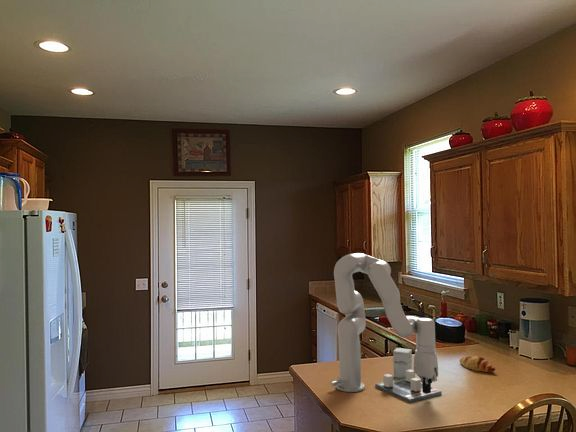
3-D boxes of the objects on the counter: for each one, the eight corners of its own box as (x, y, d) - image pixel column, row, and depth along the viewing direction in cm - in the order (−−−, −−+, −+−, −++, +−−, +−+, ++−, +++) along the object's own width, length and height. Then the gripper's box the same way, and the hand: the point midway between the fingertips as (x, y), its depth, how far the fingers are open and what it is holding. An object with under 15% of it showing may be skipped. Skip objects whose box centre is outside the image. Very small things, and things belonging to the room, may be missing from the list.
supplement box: (393, 377, 226) (392, 350, 226) (397, 373, 232) (396, 347, 233) (408, 379, 222) (408, 352, 223) (412, 375, 229) (411, 348, 229)
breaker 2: (410, 382, 213) (410, 372, 213) (405, 380, 216) (405, 370, 216) (415, 381, 214) (415, 371, 215) (410, 379, 217) (410, 369, 217)
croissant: (456, 371, 246) (450, 358, 244) (467, 359, 250) (462, 346, 249) (491, 381, 227) (486, 368, 226) (503, 368, 232) (497, 355, 230)
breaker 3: (415, 391, 201) (415, 380, 201) (410, 389, 204) (410, 378, 204) (420, 390, 203) (420, 379, 203) (415, 388, 205) (415, 377, 205)
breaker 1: (388, 387, 207) (387, 376, 207) (383, 385, 209) (383, 375, 209) (393, 386, 208) (393, 375, 208) (388, 384, 211) (388, 373, 211)
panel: (410, 402, 194) (409, 398, 194) (375, 387, 213) (375, 383, 213) (441, 394, 202) (441, 390, 202) (405, 380, 221) (405, 376, 222)
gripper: (406, 345, 203) (407, 389, 202) (432, 353, 190) (433, 400, 189) (419, 343, 206) (420, 385, 206) (446, 351, 193) (447, 396, 193)
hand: (426, 392), depth 198 cm, fingers closed
